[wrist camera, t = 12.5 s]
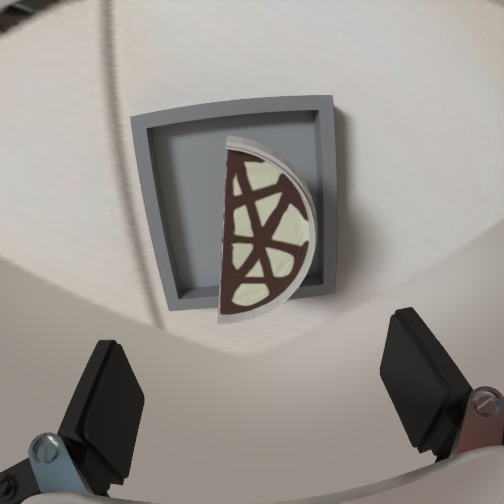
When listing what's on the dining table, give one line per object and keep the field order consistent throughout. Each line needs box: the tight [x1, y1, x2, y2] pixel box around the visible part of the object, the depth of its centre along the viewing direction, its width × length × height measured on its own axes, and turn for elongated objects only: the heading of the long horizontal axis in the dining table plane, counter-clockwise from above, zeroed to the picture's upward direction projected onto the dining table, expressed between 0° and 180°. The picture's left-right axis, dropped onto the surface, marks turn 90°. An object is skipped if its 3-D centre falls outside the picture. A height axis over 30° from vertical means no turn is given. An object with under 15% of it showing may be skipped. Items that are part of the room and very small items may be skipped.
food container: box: [218, 135, 317, 324], centre depth 23 cm, size 12×6×10 cm, turn 175°
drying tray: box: [130, 95, 337, 311], centre depth 27 cm, size 16×18×3 cm
